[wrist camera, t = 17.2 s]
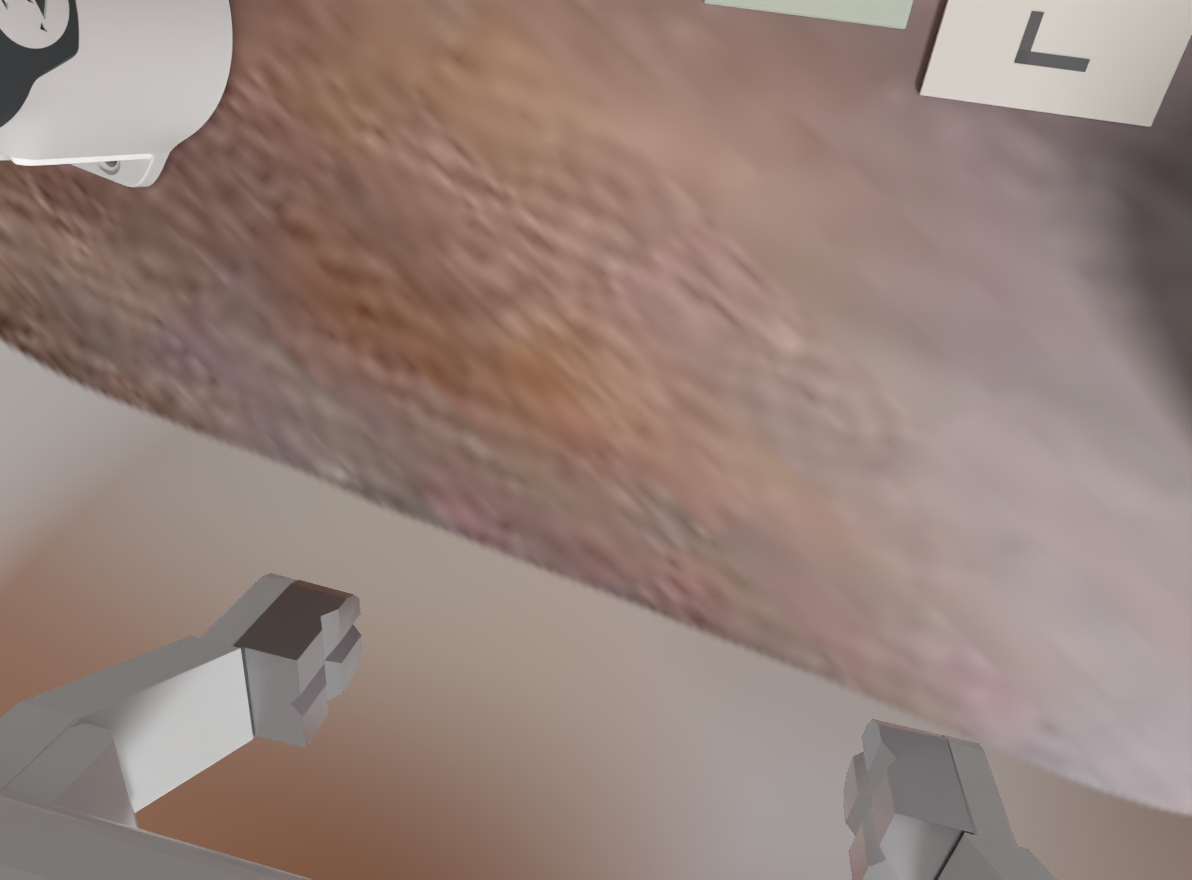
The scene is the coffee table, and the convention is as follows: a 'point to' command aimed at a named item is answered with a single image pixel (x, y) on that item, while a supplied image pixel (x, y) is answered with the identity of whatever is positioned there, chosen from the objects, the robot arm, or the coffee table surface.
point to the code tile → (1061, 55)
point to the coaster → (833, 9)
